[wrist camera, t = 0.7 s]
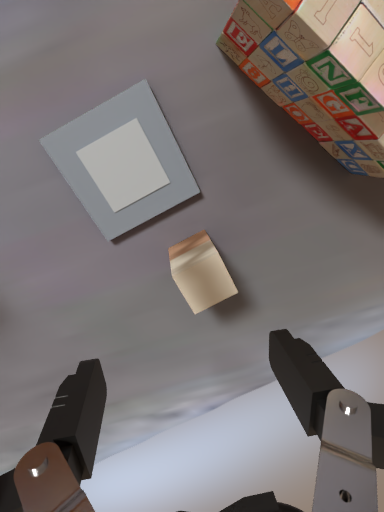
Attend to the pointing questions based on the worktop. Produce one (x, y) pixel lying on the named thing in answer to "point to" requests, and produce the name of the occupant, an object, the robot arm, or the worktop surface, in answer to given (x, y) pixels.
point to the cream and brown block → (200, 272)
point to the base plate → (122, 161)
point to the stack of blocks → (319, 69)
